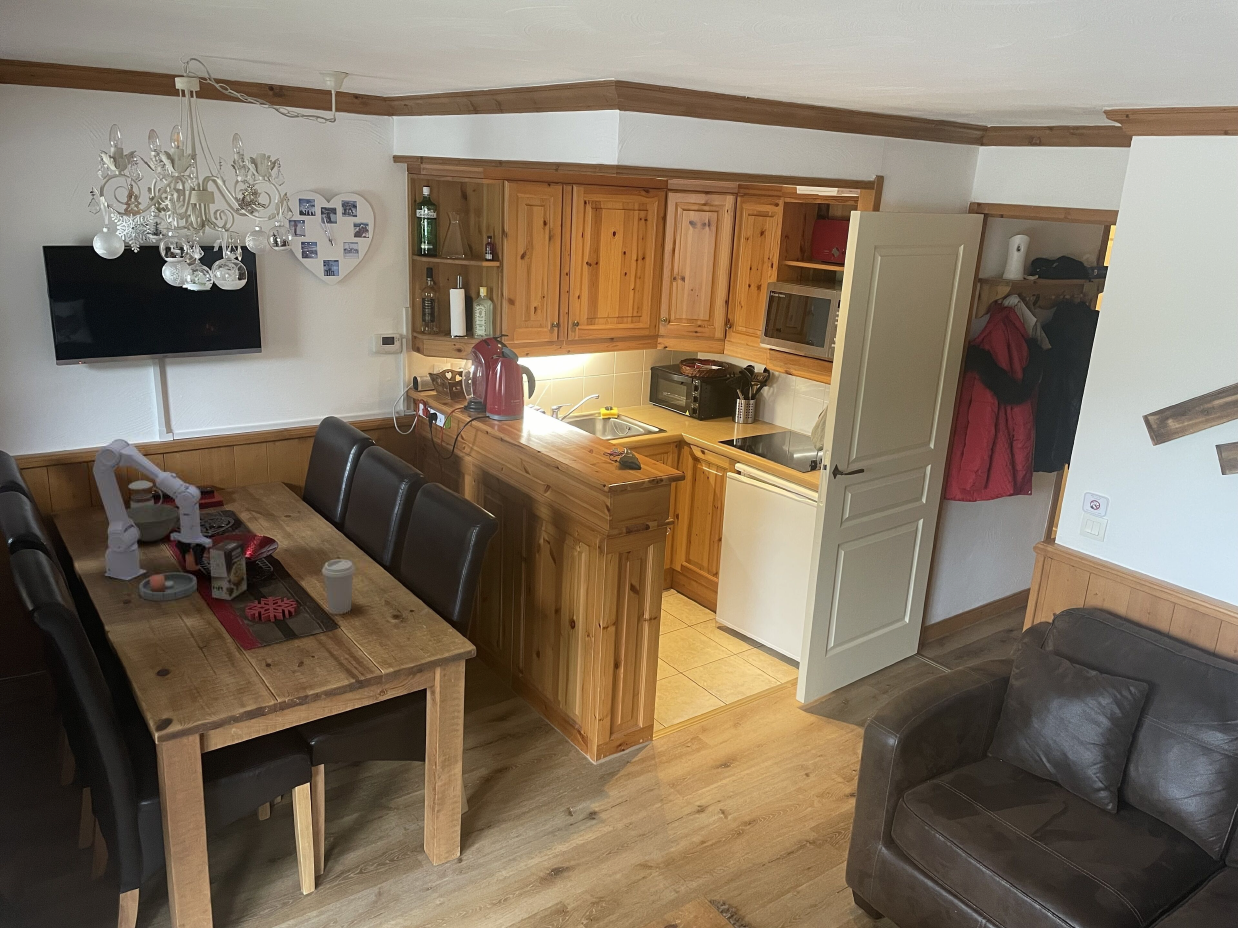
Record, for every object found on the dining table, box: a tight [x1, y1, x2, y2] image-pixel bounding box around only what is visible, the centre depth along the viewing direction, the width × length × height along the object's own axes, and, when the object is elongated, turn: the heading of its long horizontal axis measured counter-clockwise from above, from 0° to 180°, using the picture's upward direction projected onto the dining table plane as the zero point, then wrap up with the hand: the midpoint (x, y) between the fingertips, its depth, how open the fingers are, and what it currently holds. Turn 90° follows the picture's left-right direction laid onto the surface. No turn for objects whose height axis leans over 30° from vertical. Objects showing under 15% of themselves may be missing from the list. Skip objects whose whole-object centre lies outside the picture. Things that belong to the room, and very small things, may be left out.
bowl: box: [125, 504, 180, 543], centre depth 323 cm, size 19×19×10 cm
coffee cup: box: [321, 558, 356, 615], centre depth 278 cm, size 10×10×15 cm
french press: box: [127, 470, 163, 508], centre depth 338 cm, size 10×12×25 cm
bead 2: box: [185, 550, 201, 571], centre depth 296 cm, size 4×4×5 cm
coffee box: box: [209, 539, 248, 601], centre depth 284 cm, size 9×6×16 cm
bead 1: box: [150, 574, 165, 592], centre depth 281 cm, size 4×4×5 cm
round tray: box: [138, 572, 198, 602], centre depth 285 cm, size 16×16×2 cm
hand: (193, 563), depth 296 cm, fingers closed on bead 2, 4 cm apart
